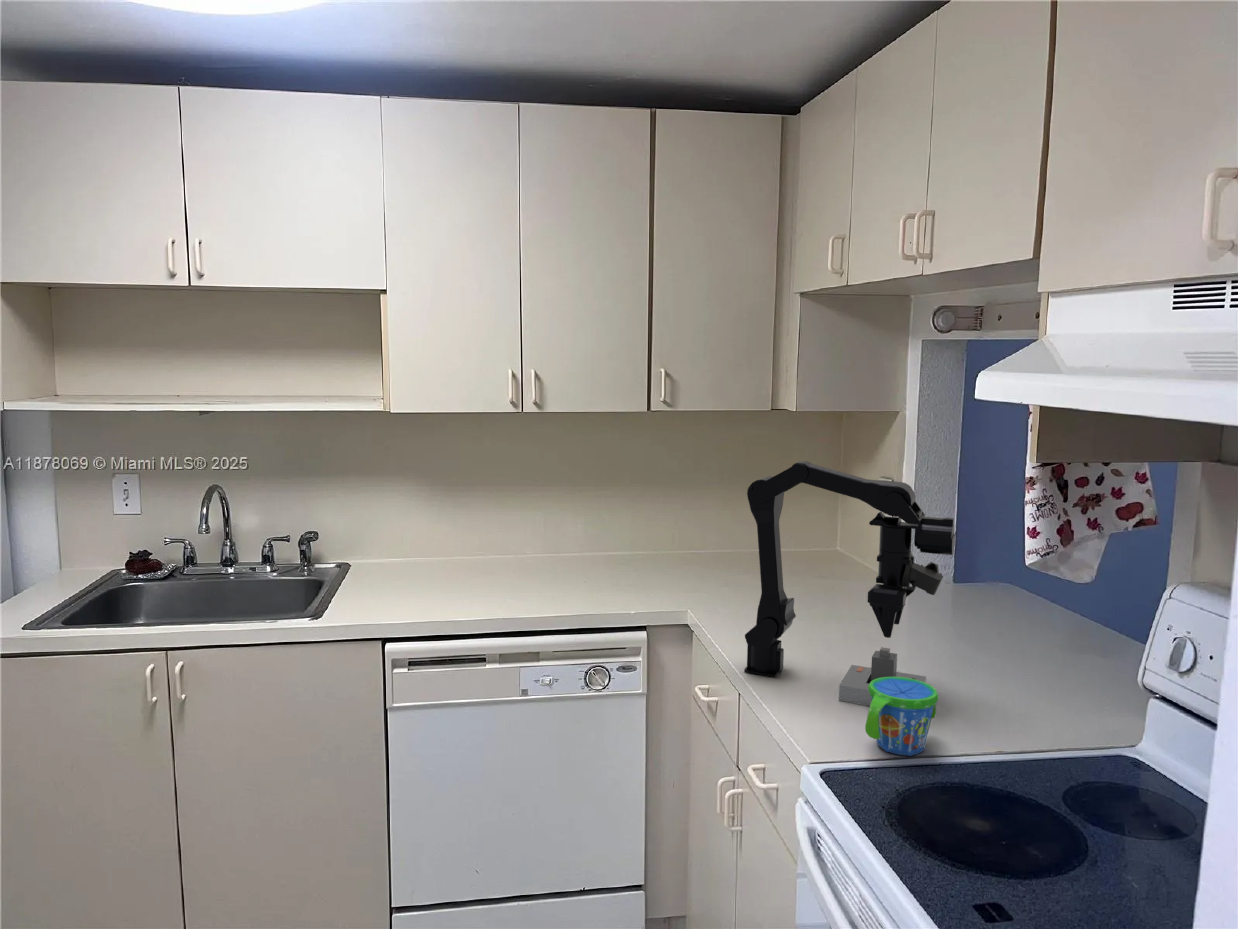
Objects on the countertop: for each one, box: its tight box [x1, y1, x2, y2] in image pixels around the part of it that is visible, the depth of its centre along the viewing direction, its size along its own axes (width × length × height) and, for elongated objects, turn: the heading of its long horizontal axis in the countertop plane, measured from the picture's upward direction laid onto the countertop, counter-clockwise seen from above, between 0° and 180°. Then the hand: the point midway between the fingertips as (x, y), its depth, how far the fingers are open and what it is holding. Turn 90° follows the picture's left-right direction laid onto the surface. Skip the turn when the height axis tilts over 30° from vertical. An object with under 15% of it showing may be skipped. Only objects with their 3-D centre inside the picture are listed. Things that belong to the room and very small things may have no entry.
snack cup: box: [864, 677, 939, 757], centre depth 138 cm, size 16×10×10 cm
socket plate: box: [838, 664, 927, 707], centre depth 160 cm, size 14×12×3 cm
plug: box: [870, 647, 898, 681], centre depth 160 cm, size 4×4×9 cm
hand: (891, 630), depth 161 cm, fingers open, 9 cm apart
